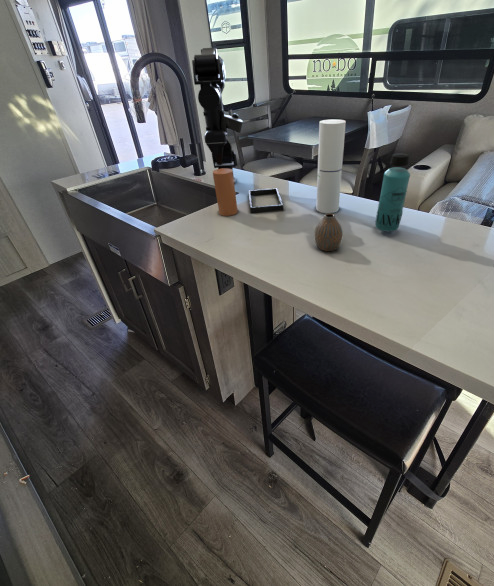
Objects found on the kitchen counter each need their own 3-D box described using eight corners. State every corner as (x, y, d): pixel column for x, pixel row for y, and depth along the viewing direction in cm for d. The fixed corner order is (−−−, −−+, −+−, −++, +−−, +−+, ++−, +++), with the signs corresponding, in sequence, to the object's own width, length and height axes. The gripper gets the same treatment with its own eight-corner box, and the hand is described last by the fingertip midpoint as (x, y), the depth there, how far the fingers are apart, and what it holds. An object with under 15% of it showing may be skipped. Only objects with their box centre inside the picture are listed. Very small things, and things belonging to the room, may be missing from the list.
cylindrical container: (328, 215, 96) (333, 124, 81) (311, 209, 101) (314, 122, 86) (343, 208, 100) (351, 120, 85) (326, 203, 104) (331, 118, 89)
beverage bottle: (369, 229, 87) (380, 153, 75) (387, 224, 89) (401, 149, 77) (384, 238, 83) (399, 159, 70) (403, 233, 85) (421, 155, 73)
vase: (325, 238, 84) (327, 207, 79) (346, 246, 80) (350, 214, 75) (308, 248, 80) (309, 216, 75) (329, 257, 76) (332, 223, 71)
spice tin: (223, 208, 104) (217, 167, 96) (240, 209, 103) (235, 168, 95) (216, 215, 100) (209, 173, 92) (233, 216, 98) (227, 174, 90)
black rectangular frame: (248, 195, 113) (248, 190, 112) (277, 193, 114) (277, 188, 113) (250, 213, 100) (250, 207, 99) (283, 210, 101) (283, 205, 100)
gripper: (239, 108, 87) (245, 167, 96) (239, 101, 101) (244, 152, 111) (199, 111, 86) (209, 169, 95) (204, 103, 101) (213, 155, 110)
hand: (220, 161), depth 103 cm, fingers open, 9 cm apart
